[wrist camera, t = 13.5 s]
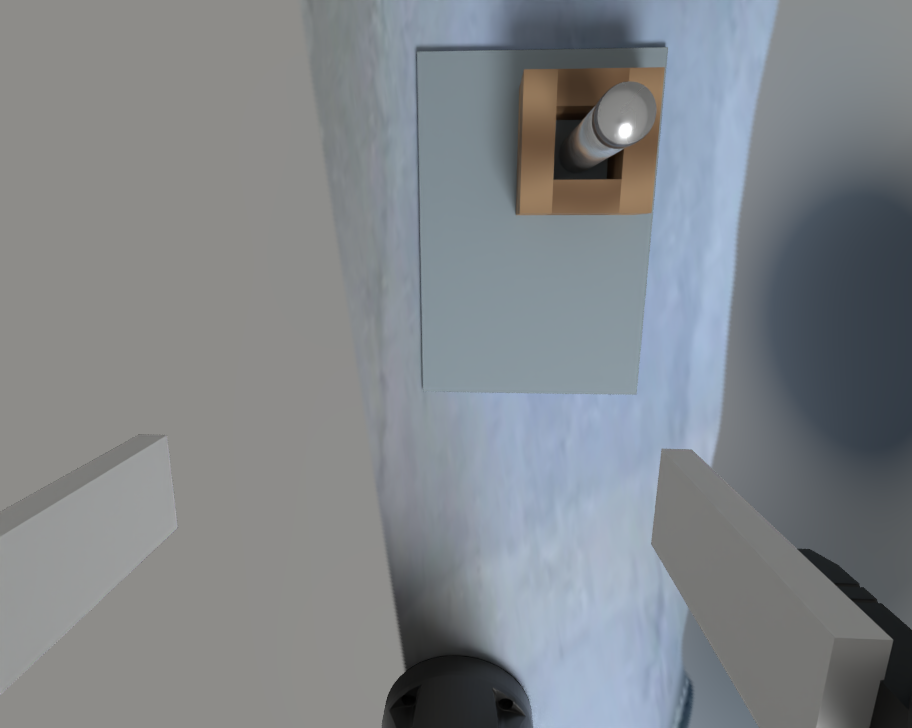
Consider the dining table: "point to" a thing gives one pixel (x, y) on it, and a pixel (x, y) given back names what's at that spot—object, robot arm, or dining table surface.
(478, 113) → the mat
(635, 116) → the metal cylinder rod
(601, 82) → the wooden block with hole
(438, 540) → the dining table surface
